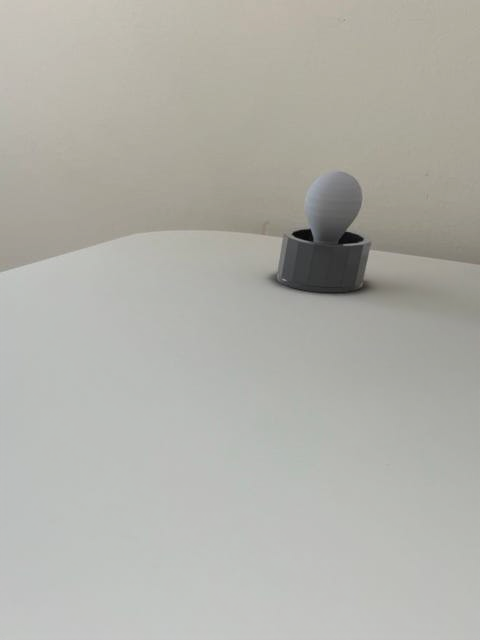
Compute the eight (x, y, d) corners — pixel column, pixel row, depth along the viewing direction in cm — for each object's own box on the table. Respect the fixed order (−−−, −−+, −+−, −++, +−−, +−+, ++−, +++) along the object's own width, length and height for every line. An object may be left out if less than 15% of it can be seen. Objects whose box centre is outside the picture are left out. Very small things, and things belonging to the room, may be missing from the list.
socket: (346, 271, 107) (355, 227, 105) (374, 293, 100) (384, 246, 97) (267, 271, 107) (274, 226, 104) (289, 292, 100) (298, 245, 97)
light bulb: (281, 272, 104) (299, 168, 99) (324, 268, 106) (343, 165, 101) (313, 285, 100) (333, 177, 95) (357, 280, 102) (379, 174, 96)
